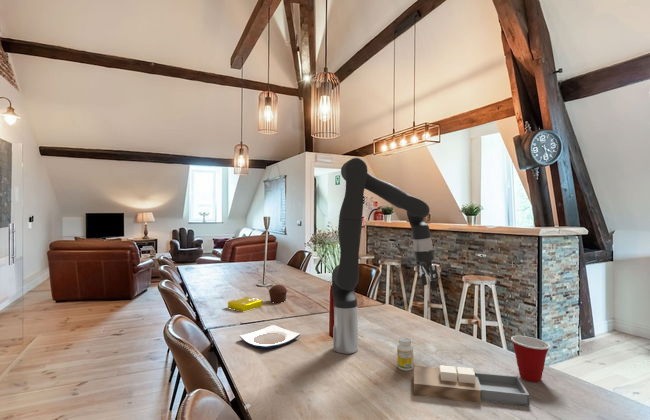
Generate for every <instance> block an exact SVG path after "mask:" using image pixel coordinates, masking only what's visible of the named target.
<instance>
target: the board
mask: <svg viewBox="0 0 650 420" xmlns="http://www.w3.org/2000/svg"><path fill="white" fill-rule="evenodd" d="M456 372H457V369H456ZM413 396H416V397H424V398H431V399H432V398H434V399H442V400H443V399H444V400H449V401H450V400H452V401H460V402H467V403H476V404H481V402H482V401H481V394H480V388H479V385H478V382H477V380H476V377H475V384H473V383H463V382H459V381H458V377H457V382H454V381H444V380H441V378H440V367H432V366H421V365H413Z"/></svg>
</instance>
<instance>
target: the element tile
mask: <svg viewBox="0 0 650 420" xmlns="http://www.w3.org/2000/svg"><path fill="white" fill-rule="evenodd" d="M260 306H262V307H263V299H261V298H255V297H250V296H243V297H239V298H237V299H232V300H229V301H227V309H228V308H231V309H235V310H239V311H238V312H240V311H247V310H250V309H253V308H256V309H258V308H257V307H260ZM260 308H261V307H260ZM231 309H230V310H231ZM235 310H234V311H235ZM253 310H254V309H253ZM250 311H251V310H250ZM247 312H248V311H247Z"/></svg>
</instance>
